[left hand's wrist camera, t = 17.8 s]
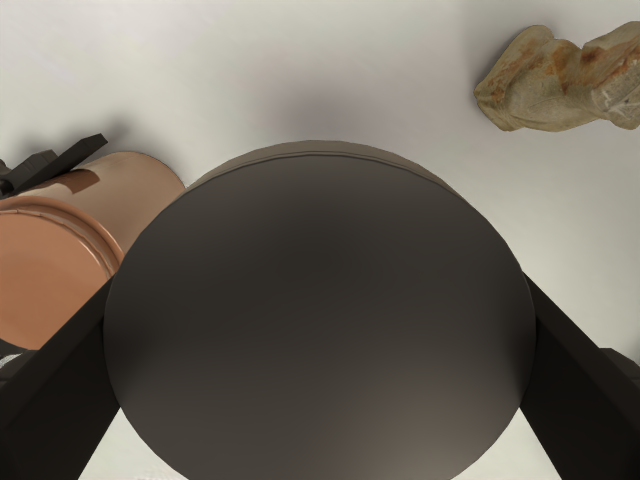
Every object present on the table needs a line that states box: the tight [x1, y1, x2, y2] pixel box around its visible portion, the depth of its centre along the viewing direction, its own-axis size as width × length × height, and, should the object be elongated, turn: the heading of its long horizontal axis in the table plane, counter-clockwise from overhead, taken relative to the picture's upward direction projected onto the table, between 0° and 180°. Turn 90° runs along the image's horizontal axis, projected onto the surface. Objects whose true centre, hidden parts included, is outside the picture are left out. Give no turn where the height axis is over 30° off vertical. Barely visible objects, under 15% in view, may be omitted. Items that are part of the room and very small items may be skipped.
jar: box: [0, 152, 185, 350], centre depth 31 cm, size 10×10×15 cm
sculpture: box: [474, 21, 640, 132], centre depth 27 cm, size 6×7×15 cm
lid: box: [103, 140, 537, 480], centre depth 12 cm, size 11×11×2 cm
